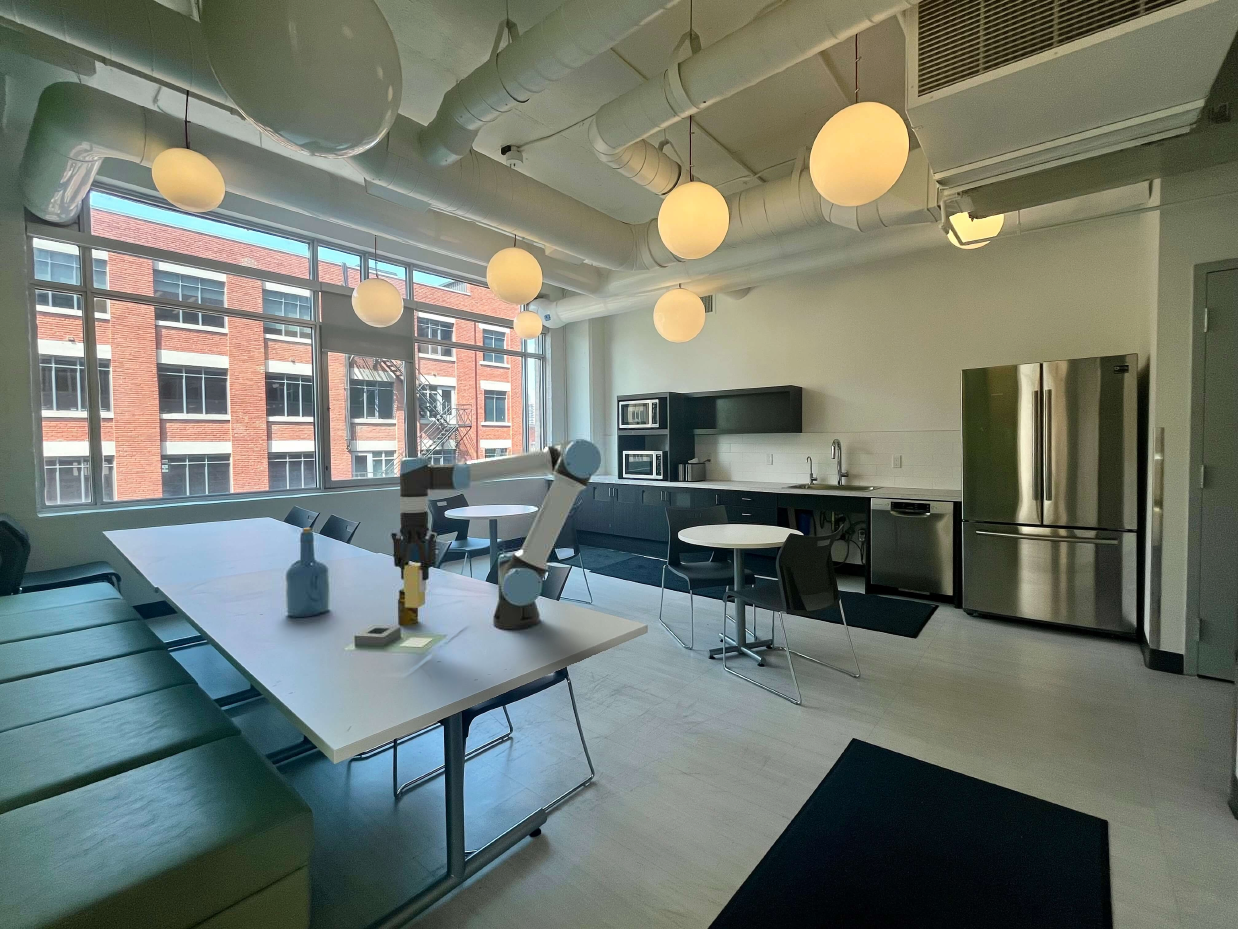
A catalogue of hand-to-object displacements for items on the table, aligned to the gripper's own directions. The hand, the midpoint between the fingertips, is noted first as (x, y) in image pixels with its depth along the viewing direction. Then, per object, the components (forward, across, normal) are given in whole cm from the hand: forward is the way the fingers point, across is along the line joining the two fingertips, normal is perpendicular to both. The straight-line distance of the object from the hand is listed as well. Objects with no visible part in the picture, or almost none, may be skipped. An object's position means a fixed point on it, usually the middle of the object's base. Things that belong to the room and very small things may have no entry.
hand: (415, 590), depth 154 cm
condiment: (+17, +13, -17) cm, 27 cm away
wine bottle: (+17, +55, -26) cm, 63 cm away
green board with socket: (+16, +6, 0) cm, 17 cm away
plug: (+4, 0, 0) cm, 4 cm away
